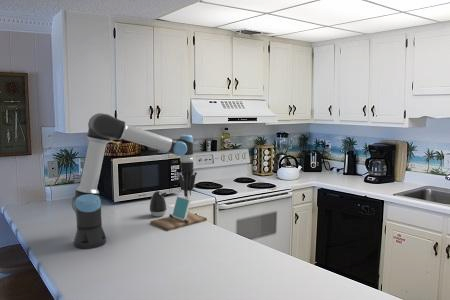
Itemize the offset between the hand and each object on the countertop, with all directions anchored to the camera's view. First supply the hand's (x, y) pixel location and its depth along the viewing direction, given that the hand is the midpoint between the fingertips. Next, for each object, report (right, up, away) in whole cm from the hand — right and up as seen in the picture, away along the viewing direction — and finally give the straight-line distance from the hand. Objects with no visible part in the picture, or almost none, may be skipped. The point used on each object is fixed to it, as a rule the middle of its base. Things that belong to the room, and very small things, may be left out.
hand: (187, 201), depth 232 cm
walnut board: (-5, -12, -3) cm, 13 cm away
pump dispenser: (-19, -10, +11) cm, 24 cm away
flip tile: (-3, -4, -2) cm, 5 cm away
